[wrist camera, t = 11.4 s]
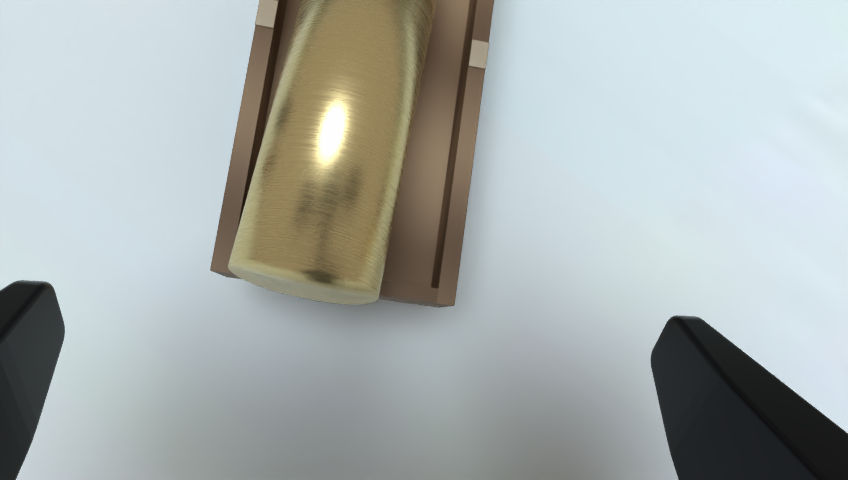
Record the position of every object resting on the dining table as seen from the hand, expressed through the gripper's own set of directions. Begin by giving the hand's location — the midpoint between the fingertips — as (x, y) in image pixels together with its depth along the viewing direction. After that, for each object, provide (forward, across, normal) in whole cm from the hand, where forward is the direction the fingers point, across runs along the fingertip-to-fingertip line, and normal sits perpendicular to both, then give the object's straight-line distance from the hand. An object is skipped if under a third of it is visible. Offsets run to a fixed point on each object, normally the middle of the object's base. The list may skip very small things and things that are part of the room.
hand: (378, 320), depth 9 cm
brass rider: (+13, 0, -2) cm, 13 cm away
